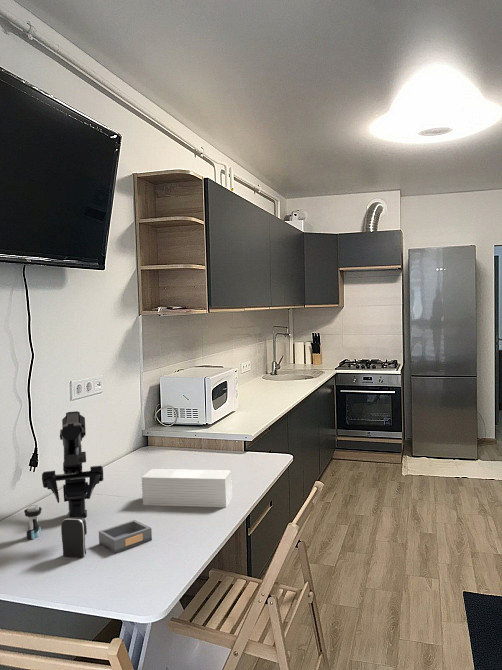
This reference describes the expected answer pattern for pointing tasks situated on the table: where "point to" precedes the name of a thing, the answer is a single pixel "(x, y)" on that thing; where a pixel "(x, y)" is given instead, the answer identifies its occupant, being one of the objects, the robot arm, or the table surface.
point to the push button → (33, 521)
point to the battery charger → (73, 536)
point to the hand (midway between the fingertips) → (73, 500)
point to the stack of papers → (187, 487)
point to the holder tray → (125, 536)
